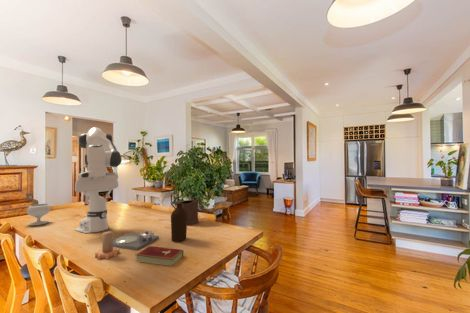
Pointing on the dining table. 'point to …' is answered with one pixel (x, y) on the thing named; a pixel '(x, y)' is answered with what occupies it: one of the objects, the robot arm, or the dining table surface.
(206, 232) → the dining table surface
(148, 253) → the hardcover book
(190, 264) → the dining table surface
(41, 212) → the chalice
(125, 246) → the carrier plate
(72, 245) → the dining table surface
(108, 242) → the gear
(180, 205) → the olive oil
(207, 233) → the dining table surface
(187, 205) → the cup holder
